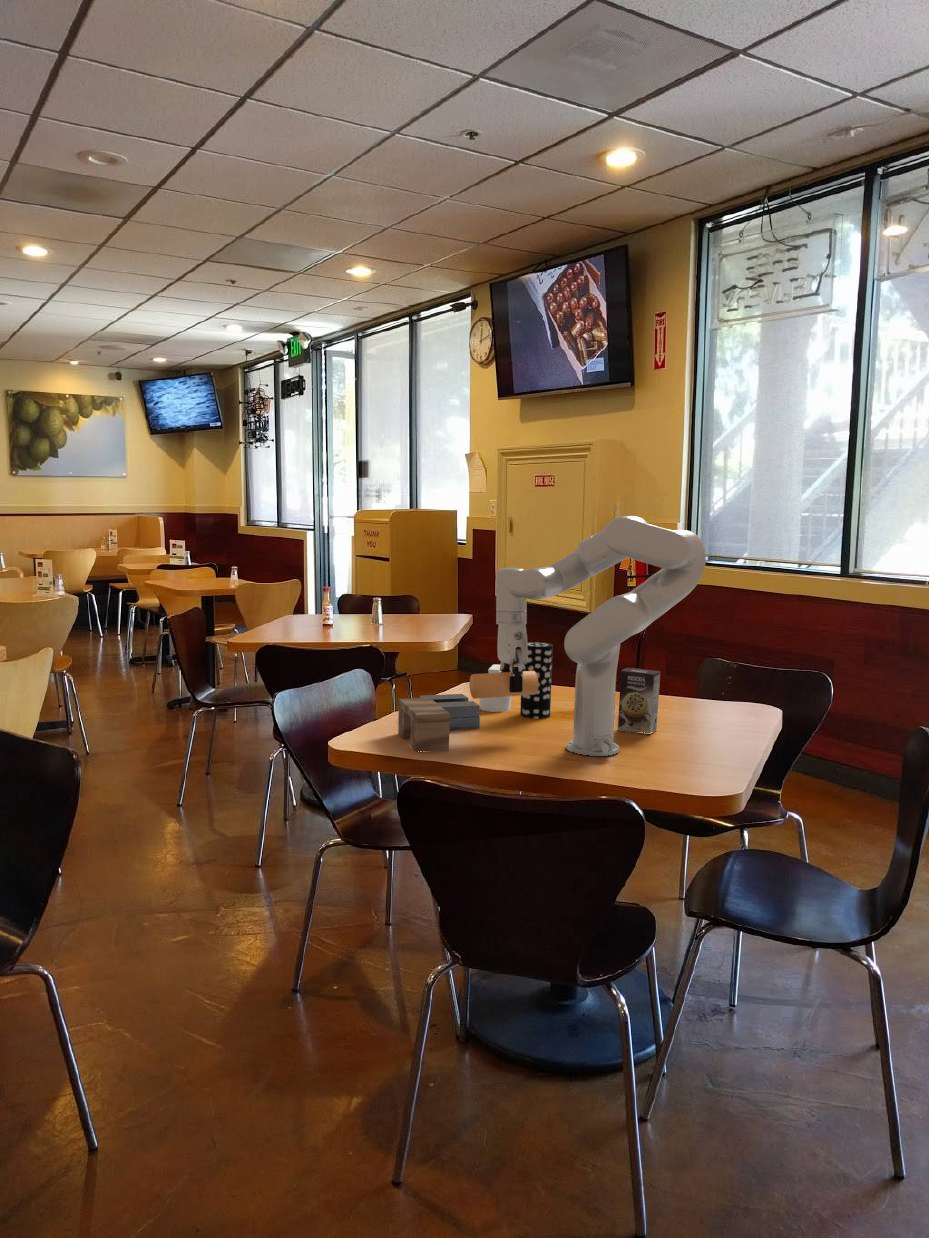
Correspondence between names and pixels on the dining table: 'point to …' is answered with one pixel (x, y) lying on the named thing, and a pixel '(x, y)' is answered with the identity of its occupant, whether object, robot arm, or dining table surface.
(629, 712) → the coffee box
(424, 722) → the beam
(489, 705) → the base with upright slab
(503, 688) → the tan cylinder
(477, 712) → the v block
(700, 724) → the dining table surface
